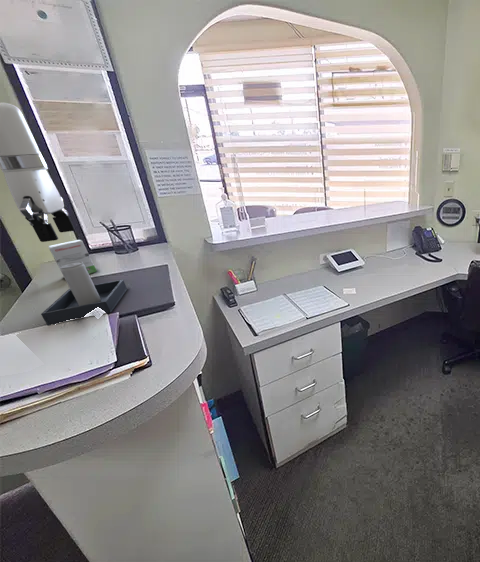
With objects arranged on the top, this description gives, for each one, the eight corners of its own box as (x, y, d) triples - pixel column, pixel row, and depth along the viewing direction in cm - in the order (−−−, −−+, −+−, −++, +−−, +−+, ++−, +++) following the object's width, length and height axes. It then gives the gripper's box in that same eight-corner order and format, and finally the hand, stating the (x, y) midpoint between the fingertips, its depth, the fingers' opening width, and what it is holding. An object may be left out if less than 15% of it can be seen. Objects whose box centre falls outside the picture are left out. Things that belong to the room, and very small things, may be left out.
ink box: (94, 269, 114) (80, 238, 109) (97, 272, 111) (83, 240, 106) (63, 277, 108) (46, 245, 103) (66, 280, 105) (49, 247, 100)
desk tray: (47, 325, 78) (40, 314, 76) (74, 299, 91) (68, 288, 90) (111, 312, 82) (105, 301, 81) (127, 289, 96) (123, 279, 94)
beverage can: (86, 309, 84) (65, 268, 79) (75, 307, 85) (54, 267, 80) (105, 301, 88) (87, 262, 83) (95, 299, 89) (76, 260, 84)
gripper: (22, 163, 77) (56, 230, 84) (-25, 167, 63) (20, 247, 70) (60, 161, 80) (90, 226, 87) (23, 164, 65) (62, 242, 72)
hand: (59, 235), depth 78 cm, fingers open, 9 cm apart
